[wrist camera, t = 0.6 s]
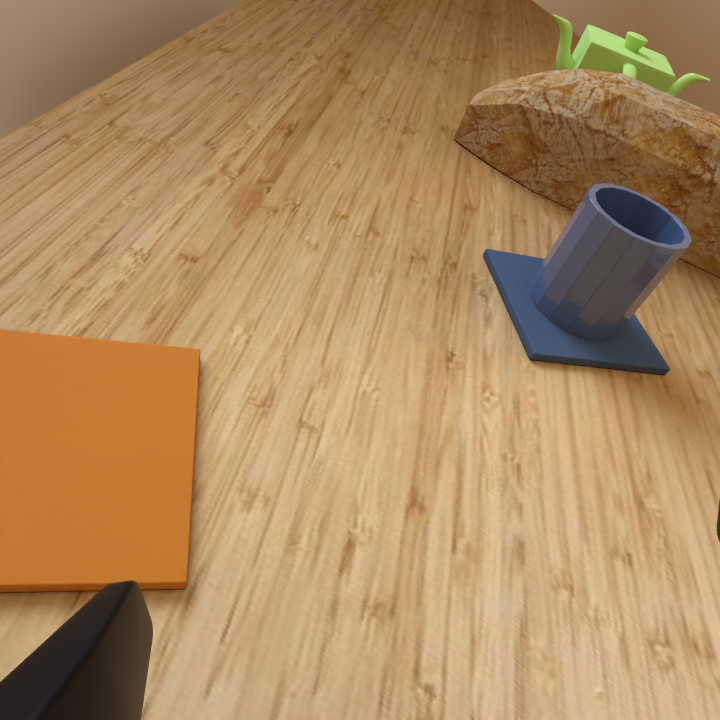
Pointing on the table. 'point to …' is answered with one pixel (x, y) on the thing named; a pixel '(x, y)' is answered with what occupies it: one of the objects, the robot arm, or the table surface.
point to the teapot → (619, 58)
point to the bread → (604, 145)
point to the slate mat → (557, 344)
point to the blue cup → (607, 261)
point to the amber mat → (95, 462)
